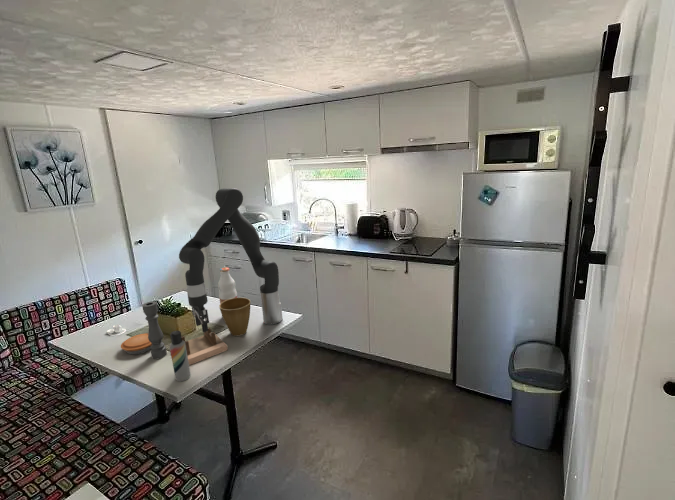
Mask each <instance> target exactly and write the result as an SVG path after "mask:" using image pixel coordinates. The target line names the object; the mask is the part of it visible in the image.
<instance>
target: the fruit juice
mask: <svg viewBox="0 0 675 500" xmlns="http://www.w3.org/2000/svg"><path fill="white" fill-rule="evenodd" d="M219 273H220V278H219V279H218V280H219V281H218V283H217V288H218V290H219V291H218V299H219V305H220V304H221V303H222V302H224V301H226V300H228V299H232V298H238V292H237V289H236V281H235V280H234V278H233V277H232V276H231V274H230V267H221V268H219ZM221 317H222V319H223V316H222V315H221Z"/></svg>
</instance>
